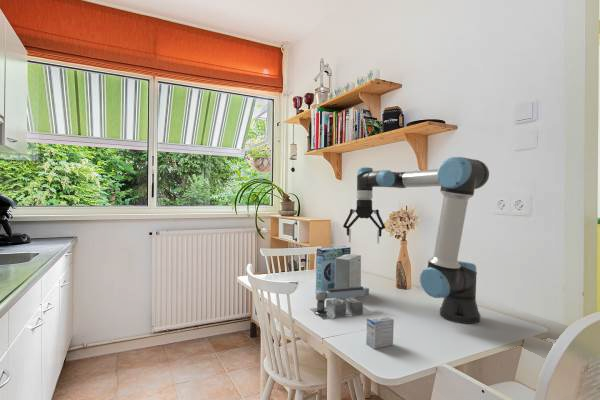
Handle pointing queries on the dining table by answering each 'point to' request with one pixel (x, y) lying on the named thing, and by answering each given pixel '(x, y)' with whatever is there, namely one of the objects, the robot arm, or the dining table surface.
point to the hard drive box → (348, 272)
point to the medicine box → (379, 332)
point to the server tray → (326, 314)
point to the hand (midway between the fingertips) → (363, 242)
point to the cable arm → (342, 293)
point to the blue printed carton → (328, 266)
